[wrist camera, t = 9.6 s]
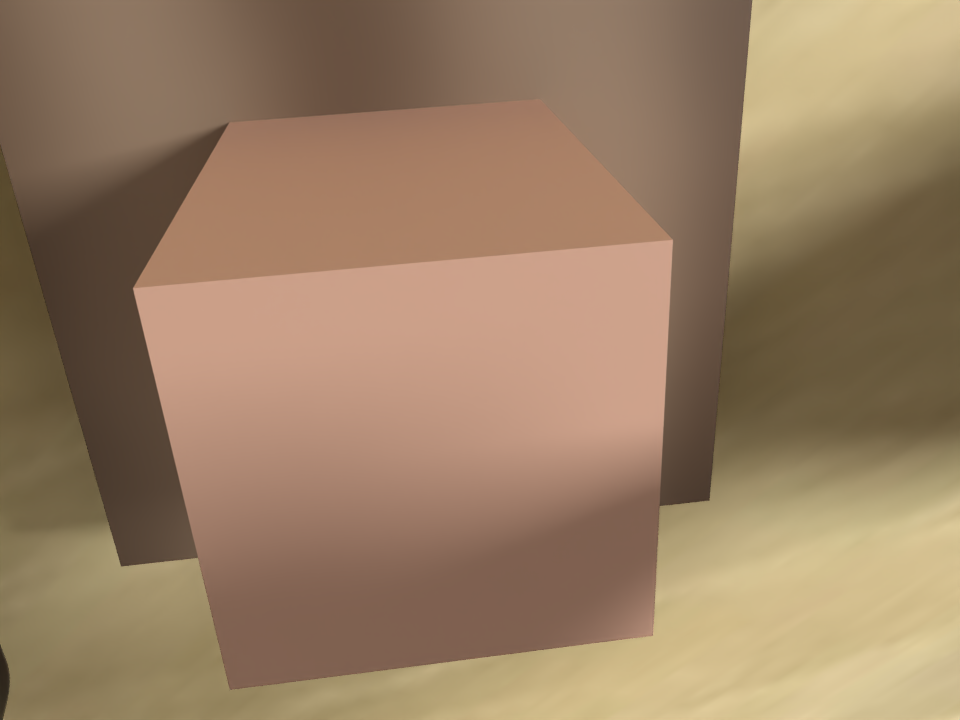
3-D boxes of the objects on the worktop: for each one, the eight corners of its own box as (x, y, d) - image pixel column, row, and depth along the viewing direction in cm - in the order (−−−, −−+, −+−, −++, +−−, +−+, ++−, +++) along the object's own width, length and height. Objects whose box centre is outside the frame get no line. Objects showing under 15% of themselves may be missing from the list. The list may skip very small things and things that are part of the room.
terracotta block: (539, 98, 15) (673, 239, 9) (545, 369, 17) (653, 635, 11) (229, 122, 14) (133, 288, 8) (277, 396, 17) (230, 689, 10)
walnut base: (697, -149, 16) (765, -159, 13) (665, 426, 22) (709, 500, 19) (0, -116, 15) (-76, -120, 12) (151, 480, 21) (121, 566, 18)
